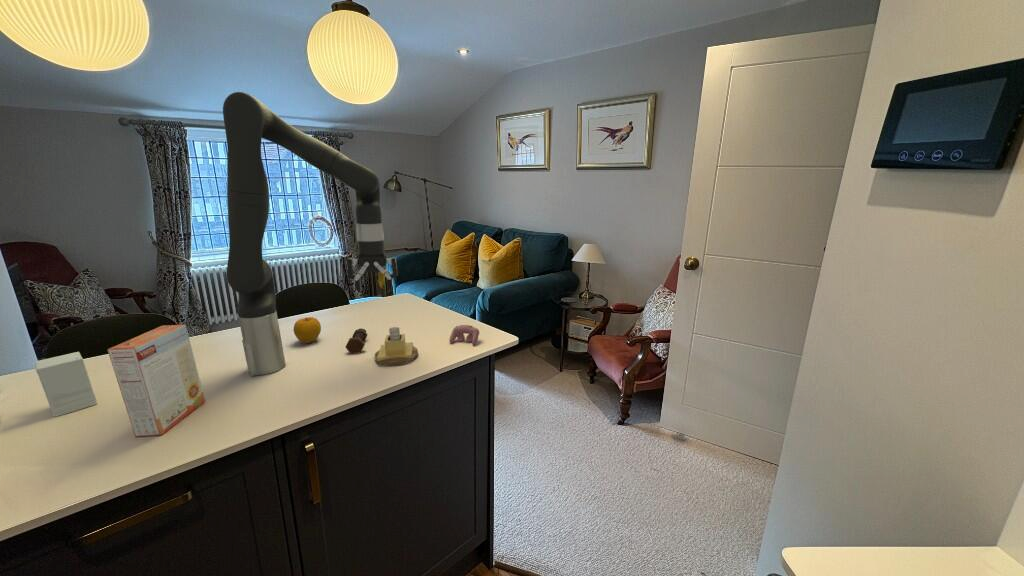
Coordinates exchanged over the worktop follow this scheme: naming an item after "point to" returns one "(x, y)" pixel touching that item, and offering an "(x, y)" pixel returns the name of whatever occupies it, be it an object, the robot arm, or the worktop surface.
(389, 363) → the post base
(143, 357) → the cracker box
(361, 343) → the dark brown dumbbell
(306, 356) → the worktop surface
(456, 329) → the purple arched piece
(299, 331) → the apple
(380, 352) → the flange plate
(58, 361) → the supplement box
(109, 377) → the worktop surface
